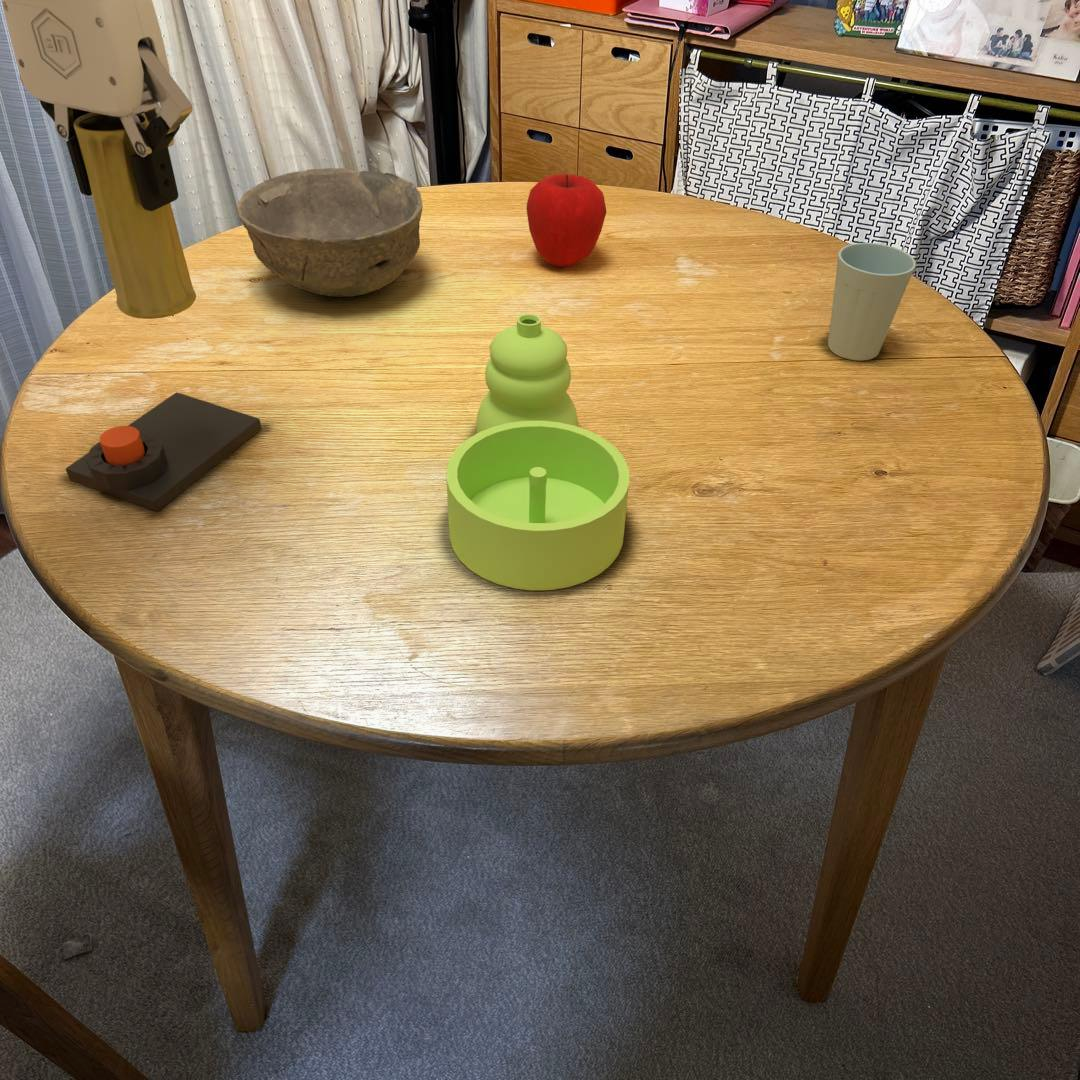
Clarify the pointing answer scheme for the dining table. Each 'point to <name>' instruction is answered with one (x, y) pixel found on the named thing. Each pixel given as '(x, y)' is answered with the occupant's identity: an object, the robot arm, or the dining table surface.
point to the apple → (565, 218)
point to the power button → (122, 445)
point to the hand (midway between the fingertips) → (129, 194)
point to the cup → (866, 297)
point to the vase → (132, 225)
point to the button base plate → (168, 451)
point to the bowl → (334, 228)
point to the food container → (534, 474)
